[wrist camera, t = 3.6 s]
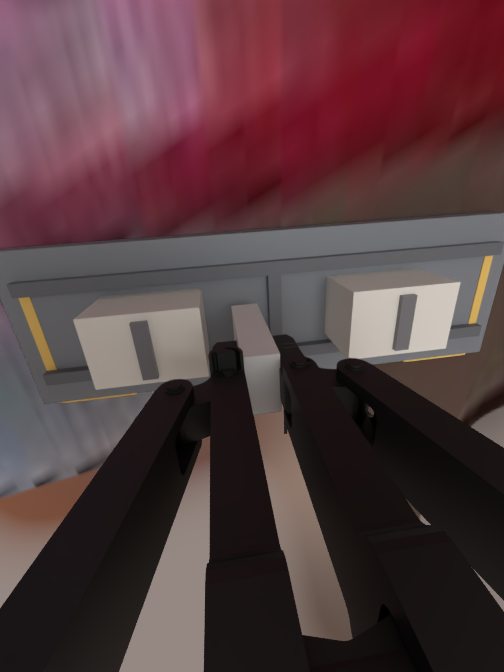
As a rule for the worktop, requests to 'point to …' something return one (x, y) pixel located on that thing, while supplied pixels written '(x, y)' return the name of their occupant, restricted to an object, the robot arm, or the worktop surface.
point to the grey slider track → (243, 285)
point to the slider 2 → (389, 312)
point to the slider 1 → (145, 338)
